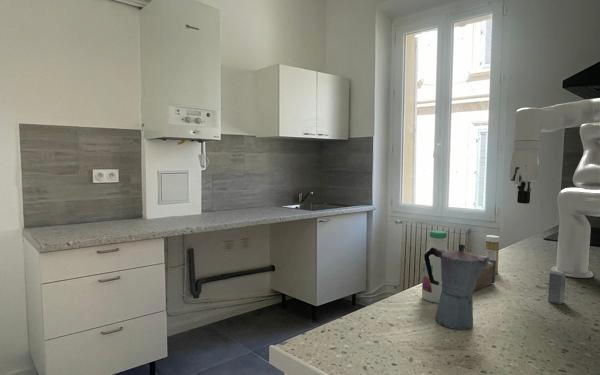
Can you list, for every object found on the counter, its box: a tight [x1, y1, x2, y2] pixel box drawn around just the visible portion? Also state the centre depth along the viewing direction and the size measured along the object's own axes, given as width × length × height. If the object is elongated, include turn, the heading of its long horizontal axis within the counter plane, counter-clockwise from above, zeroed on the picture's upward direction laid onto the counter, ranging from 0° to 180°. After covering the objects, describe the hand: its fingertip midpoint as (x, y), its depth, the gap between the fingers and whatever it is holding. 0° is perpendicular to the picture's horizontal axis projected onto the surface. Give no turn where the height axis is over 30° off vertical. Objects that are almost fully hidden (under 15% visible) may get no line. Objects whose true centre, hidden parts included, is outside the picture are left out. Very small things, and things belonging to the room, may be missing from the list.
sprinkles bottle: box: [484, 234, 501, 274], centre depth 144 cm, size 5×5×13 cm
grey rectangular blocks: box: [478, 254, 567, 305], centre depth 124 cm, size 3×26×8 cm, turn 35°
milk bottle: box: [421, 229, 449, 304], centre depth 115 cm, size 8×8×20 cm
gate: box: [473, 260, 496, 292], centre depth 125 cm, size 3×18×8 cm, turn 130°
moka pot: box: [423, 244, 489, 331], centre depth 98 cm, size 10×15×20 cm, turn 58°
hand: (523, 203), depth 129 cm, fingers closed
